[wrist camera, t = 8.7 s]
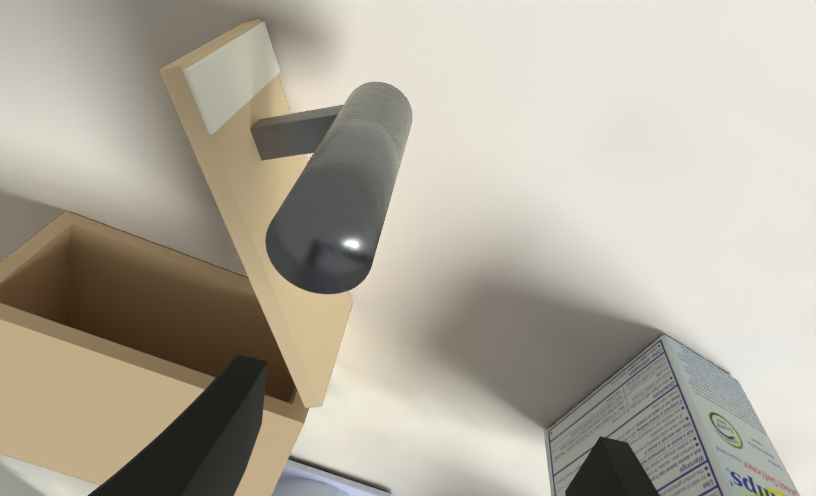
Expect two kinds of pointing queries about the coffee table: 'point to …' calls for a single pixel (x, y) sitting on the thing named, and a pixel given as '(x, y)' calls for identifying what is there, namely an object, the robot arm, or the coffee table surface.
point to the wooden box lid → (292, 187)
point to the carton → (126, 351)
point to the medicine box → (673, 428)
